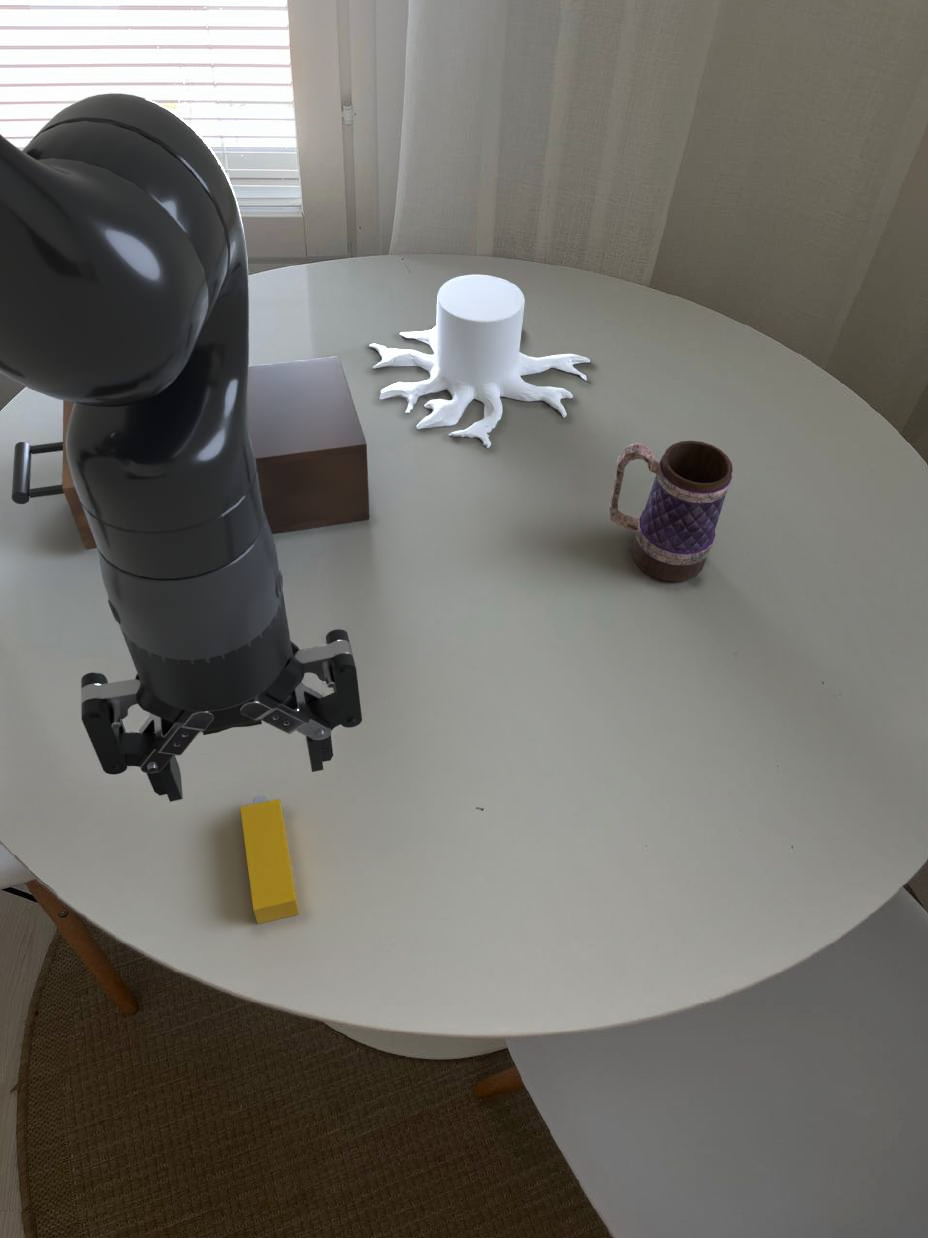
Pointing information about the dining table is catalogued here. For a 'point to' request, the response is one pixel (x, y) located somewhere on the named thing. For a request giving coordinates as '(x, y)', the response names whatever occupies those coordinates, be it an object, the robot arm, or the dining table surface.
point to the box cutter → (268, 860)
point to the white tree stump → (475, 356)
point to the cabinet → (307, 444)
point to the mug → (675, 507)
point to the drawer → (24, 493)
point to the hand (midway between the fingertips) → (246, 772)
